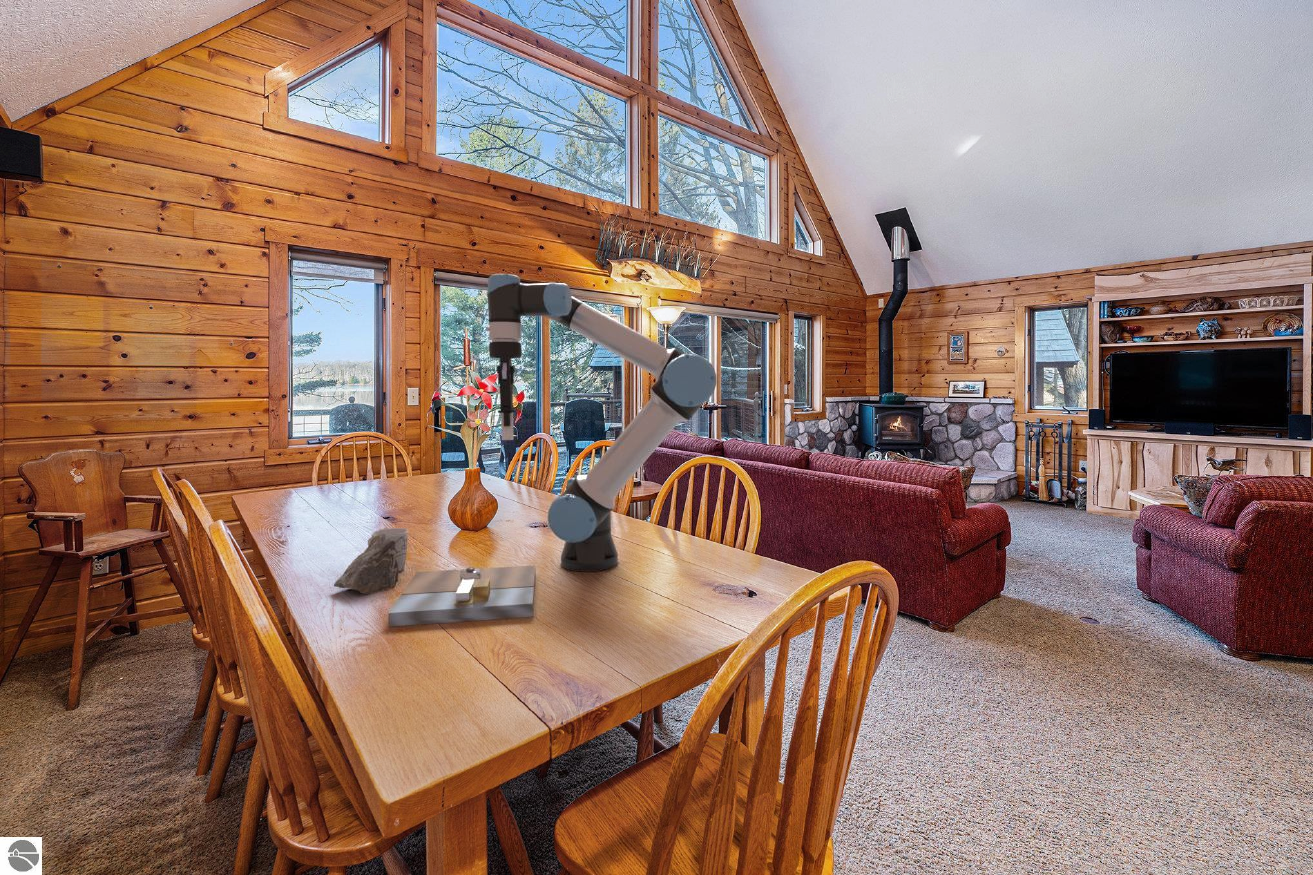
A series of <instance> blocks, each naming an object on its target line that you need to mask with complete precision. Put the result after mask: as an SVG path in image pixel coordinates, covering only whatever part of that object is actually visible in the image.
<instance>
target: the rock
mask: <svg viewBox="0 0 1313 875" xmlns="http://www.w3.org/2000/svg"><path fill="white" fill-rule="evenodd" d="M395 558H396V549H395V541H394V540H392V539H391V538H390V537H389V536H388V535H386V534H385V533H383V534H380V535H378V536H376V537H374V538H373V539H372V541H371V543H370V545H369V546H368V545H367V547H366V549H365V550H364V551H363V552H362V553H361V554H358V555H357V556H356V557H355V558H354V559H353V561H352V562H351V563H350V564H349V565H348V567H347V568H346V570H345V571H344V573H343V574H342V575H341V576H340V577H339V578H337V579H336V580H335V583H334V585H333V587H336V588H340V589H344V588H345V589H346V588H347V589H349V590H357V591H358V592H359V593H360V594H363V595H368V594H371V595H372V594H376V593H378V592H382V591H384V590H385V591H386V590H387V589H391V588H393V587H395V586H396V585H397V583H398V581H399V572H398V563H397V561H396V560H395Z"/></svg>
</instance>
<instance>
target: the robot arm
mask: <svg viewBox="0 0 1313 875" xmlns="http://www.w3.org/2000/svg"><path fill="white" fill-rule="evenodd" d="M486 296H487V309H488V310H487V311H488V326H487V327H486V329H485V331H486V332H489V333H488V339H489V340H491V341H489V343H488V349H489V350H488V351H489V353H488V355H489V357H490V358H491V359H499V365H496V373H497V378H498V381H497V383H498V385H499V400H500V401H499V404H500V406H499V410H497V413H498V414H500V420H501V421H500V423H501V424H500V427H501V428H500V429H501V430H500V431H501V441H514V438H515V437H514V413H516V411H517V410H516V409H514V397H513V396H514V394H513V390H514V387H513V386H514V384H515V375H514V374H515V370H516V368H515V365H512V359H521V358H522V357H523V356H522V354H523V351H522V343H521V342H520V341H521V340H522V317H544V318H548V319H550V320H553V321H555V322H557V323H559V324H561V325H562V326H564V327H566V328H568V329H570V330H572V331H573V332H574V333H578V334H579V335H581V336H583V337H585V338H586V339H588V340H589V341H592V342H593V343H595V344H596V345H599V346H600V347H602V348H604V349H606V350H608V351H610V352H611V353H613V354H615V355H617V356H618V357H620V358H622V359H624V360H626V361H627V362H629V363H631V364H633V365H635V366H637V367H639V368H640V369H642V370H644V371H645V372H647V373H649V374H651V375H653V376H654V377H655V380H656V382H655V383H654V384H653V385H652V387H651V388H650V399H649V400H648V401H647V402H646V404H645V405H643V407H642V409H641V410H640V411H639V412H637V414H636V415H635V416H634V418H633V419H632V420H631V422H630V423H629V424H628V425H627V426H626V427H625V429H624V430H623V431H622V432H621V433H620V434H619V435H618V437H617V438H615V440H614V442H613V443H612V444H610V447H608V449H607V450H606V451H605V452H604V453H603V455H602V456H601V457H600V458H599V459H598V460H597V461H596V463H595V464H594V466H592V468H591V469H590V470H589V471H588V472H587V473H586V474H578V475H576V477H570V478H568V479H567V480H566V486H565V490H564V491H563V492H562V493H561V495H560V496H557V497H556V498H555V499H554V500H553V501H552V503H551V504H550V507H549V508H548V512H547V522H548V526H549V528H550V530H551V532H552V533H553V534H554V535H555V536H556V537H557V538H559V540H561V541H564V544H563V548H562V552H561V554H560V564H561V567H563V568H564V569H567V570H571V571H575V572H600V571H604V570H608V569H611V568H613V567H615V566H616V565H617V564H618V563H619V562H618V561H619V558H618V556H619V554H618V551H617V547H616V545H615V542H614V539H613V536H612V510H614V509H615V507H616V506H615V505H616V504H615V497H616V496H617V495H618V494H619V493H620V492H621V490H622V489H623V488H624V487H625V486H626V484H627V483H628V482H629V481H630V479H631V478H632V477H633V476H634V475H635V474H636V473H637V471H639V469H640V468H641V467H642V466H643V464H645V462H646V461H647V460H648V458H650V456H651V455H652V454H653V453H654V452H655V451H656V449H657V448H658V447H659V446H661V444H662V443H663V441H665V439H666V438H667V437H668V435H669V434H670V433H671V432H672V431H673V430H674V428H675V427H676V426H677V425H678V424H679V423H681V422H689V421H690V420H691V418H692V417H693V416H694V415H695V414H696V413H697V412H698V410H700V408H701V407H702V405H703V404H705V402H707V401H708V400H709V399H710V398H711V397H712V396H713V394H714V392H715V389H716V386H717V374H716V370H715V368H714V366H713V364H712V363H711V362H710V361H709V360H708V359H706V358H705V357H704V356H702V355H699V354H696V353H685V352H683V351H681V350H679V349H678V348H675V347H674V348H667V347H665V346H663V345H662V344H660V343H658V342H657V341H654V340H652V339H650V338H649V337H647V336H645V335H644V334H642V333H640V332H638V331H637V330H634V329H633V328H630V327H629V326H627V325H625V324H623V323H621V322H619V321H618V320H616V319H614V318H612V317H611V316H609V315H607V314H605V313H604V312H601V311H600V310H598V309H596V308H594V307H592V306H590V305H589V304H586V303H585V302H583V301H582V300H580V299H578V298H575V297H574V296H572V292H571V289H570V287H569V285H568V284H566V283H561V282H558V283H557V282H548V283H546V282H544V283H542V282H541V283H522V282H521V278H520V277H519V276H518V275H515V274H511V273H510V274H509V273H507V274H506V273H495V274H491V275H490V276H489V277H488V279H487V293H486Z"/></svg>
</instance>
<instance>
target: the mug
mask: <svg viewBox="0 0 1313 875" xmlns="http://www.w3.org/2000/svg"><path fill="white" fill-rule="evenodd" d="M383 533H385V534H386V535H388V536H389V537H390V538H391V539H392V540H394V541H395V549H396V558H395V560H396V561H397V563H398V573H400V572H401V571H403V570H404V569H405V566H406V561H407V559H406V558H407V553H408V536H409V534H408V533H409V532H408V530H407V529H406V528H401V527H398V528H397V527H394V528H393V527H392V528H391V527H390V528H385V529H379V530H376V531H373V532H371V537H369V538H368V541H367V547H368V546H369V545H370V543H371V541H372V539H373V538H374V537H376V536H378V535H380V534H383Z"/></svg>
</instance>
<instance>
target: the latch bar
mask: <svg viewBox="0 0 1313 875" xmlns="http://www.w3.org/2000/svg"><path fill="white" fill-rule="evenodd" d="M480 569H481V568H475V567H473V566H472V567H467V568H465V569H464V570H462V569H461V570H462V571H461V572H460V580H461V584H460V586H459V588H458V590H457V592H456V602H459V601H469V600H470V598H471V595H472V593H473V585H474V582H475V579H481V570H480Z"/></svg>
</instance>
